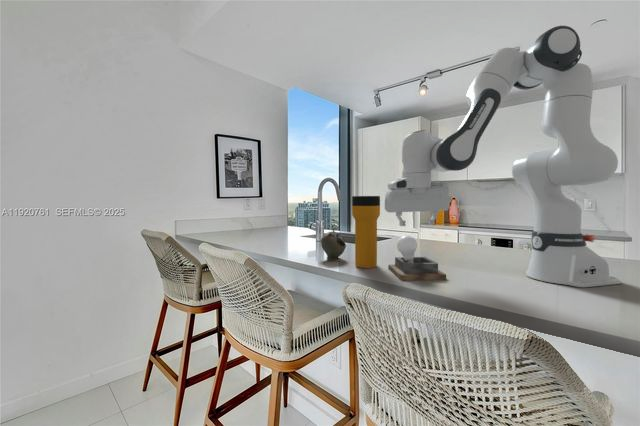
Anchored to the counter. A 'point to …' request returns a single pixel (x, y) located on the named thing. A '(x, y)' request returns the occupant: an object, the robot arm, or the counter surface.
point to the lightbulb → (407, 247)
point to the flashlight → (366, 229)
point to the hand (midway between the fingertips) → (416, 225)
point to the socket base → (416, 269)
